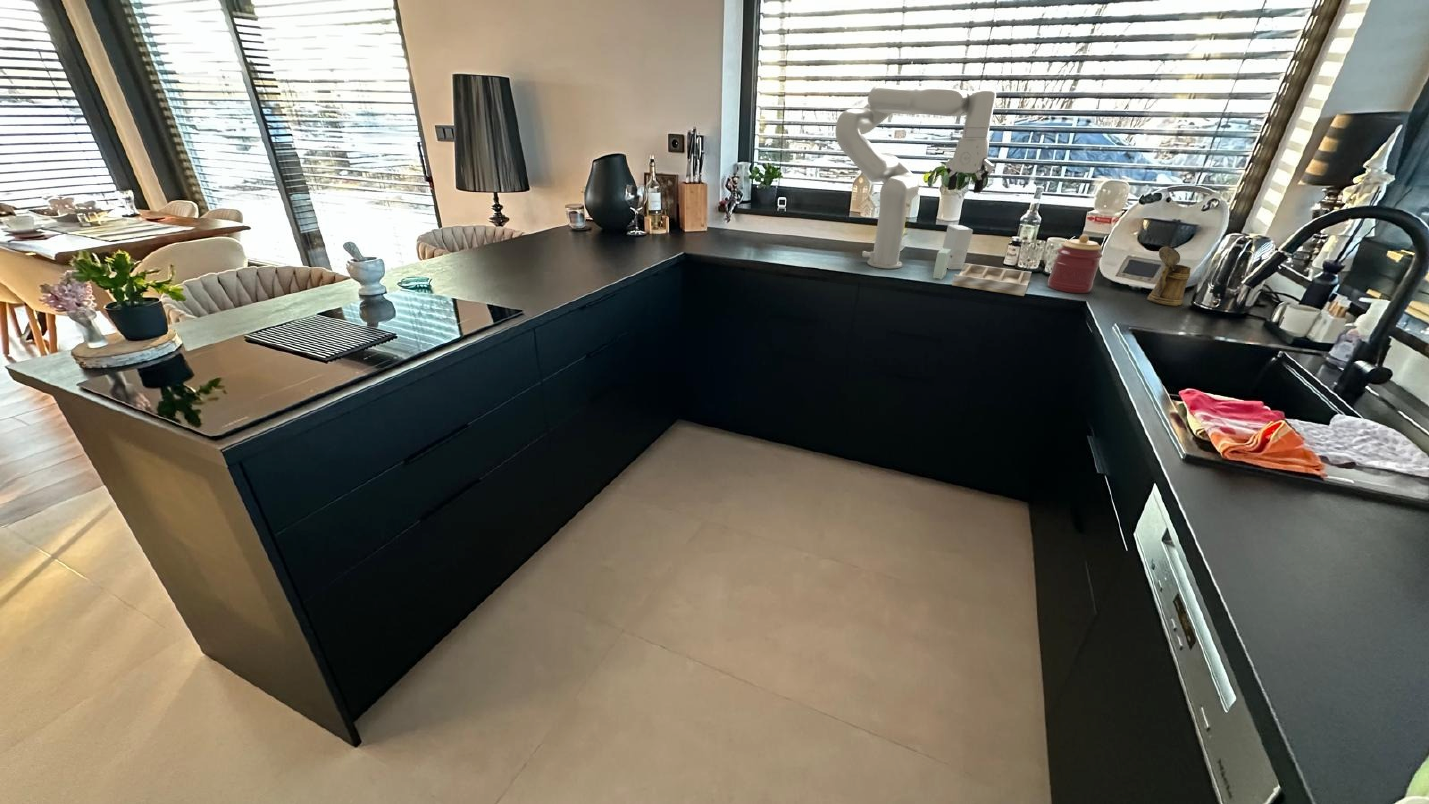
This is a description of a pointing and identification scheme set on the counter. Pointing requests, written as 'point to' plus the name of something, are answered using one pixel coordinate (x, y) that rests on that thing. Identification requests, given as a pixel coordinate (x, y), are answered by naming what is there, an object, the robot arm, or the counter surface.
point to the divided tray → (992, 279)
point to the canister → (1075, 265)
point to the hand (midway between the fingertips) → (963, 191)
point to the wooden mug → (1170, 279)
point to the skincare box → (957, 245)
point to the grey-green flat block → (941, 263)
